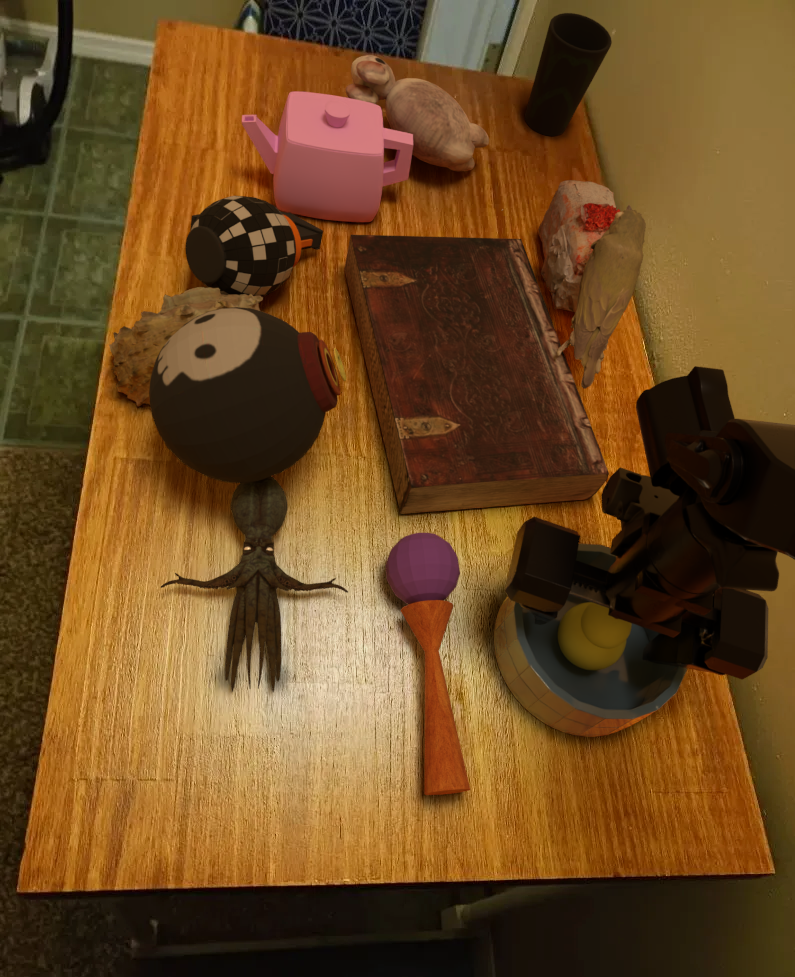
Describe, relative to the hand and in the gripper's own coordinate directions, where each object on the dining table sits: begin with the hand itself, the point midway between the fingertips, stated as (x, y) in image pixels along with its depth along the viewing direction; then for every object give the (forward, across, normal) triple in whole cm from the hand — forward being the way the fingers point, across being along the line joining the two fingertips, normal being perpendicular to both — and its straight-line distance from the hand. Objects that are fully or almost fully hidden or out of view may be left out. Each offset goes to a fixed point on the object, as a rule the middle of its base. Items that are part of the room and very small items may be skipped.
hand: (591, 637), depth 66 cm
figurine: (+3, +27, +4) cm, 27 cm away
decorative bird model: (-4, +6, -34) cm, 34 cm away
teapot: (+3, +37, -43) cm, 57 cm away
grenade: (-3, +43, -22) cm, 48 cm away
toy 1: (-3, +38, -4) cm, 39 cm away
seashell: (+4, +40, -14) cm, 43 cm away
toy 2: (+1, +23, -58) cm, 62 cm away
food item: (+3, +8, -43) cm, 44 cm away
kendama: (+3, +12, +6) cm, 14 cm away
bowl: (+3, 0, 0) cm, 3 cm away
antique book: (+3, +16, -24) cm, 29 cm away
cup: (+3, +15, -70) cm, 72 cm away
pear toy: (+3, 0, 0) cm, 3 cm away
